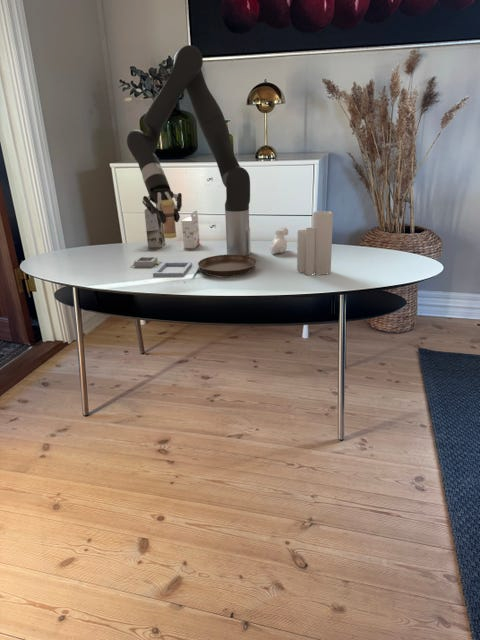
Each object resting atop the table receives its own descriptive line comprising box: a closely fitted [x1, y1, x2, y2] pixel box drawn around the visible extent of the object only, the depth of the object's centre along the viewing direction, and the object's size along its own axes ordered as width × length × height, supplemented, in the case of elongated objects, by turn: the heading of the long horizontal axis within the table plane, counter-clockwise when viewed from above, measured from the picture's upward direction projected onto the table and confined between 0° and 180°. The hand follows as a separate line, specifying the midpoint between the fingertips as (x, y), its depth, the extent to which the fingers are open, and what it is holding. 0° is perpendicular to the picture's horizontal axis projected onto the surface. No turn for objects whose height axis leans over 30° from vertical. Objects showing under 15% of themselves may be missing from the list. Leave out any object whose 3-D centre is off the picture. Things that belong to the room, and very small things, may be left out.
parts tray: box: [152, 261, 193, 278], centre depth 165 cm, size 10×14×3 cm
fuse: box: [161, 199, 177, 239], centre depth 159 cm, size 4×4×12 cm
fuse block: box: [129, 256, 163, 269], centre depth 174 cm, size 10×8×4 cm
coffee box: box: [144, 206, 166, 249], centre depth 207 cm, size 9×6×16 cm
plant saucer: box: [197, 254, 258, 278], centre depth 168 cm, size 21×21×3 cm
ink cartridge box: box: [180, 209, 201, 249], centre depth 204 cm, size 9×5×15 cm, turn 168°
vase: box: [296, 210, 334, 276], centre depth 159 cm, size 11×7×20 cm, turn 83°
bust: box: [269, 226, 289, 255], centre depth 189 cm, size 12×8×11 cm
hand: (171, 221), depth 157 cm, fingers closed on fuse, 4 cm apart
